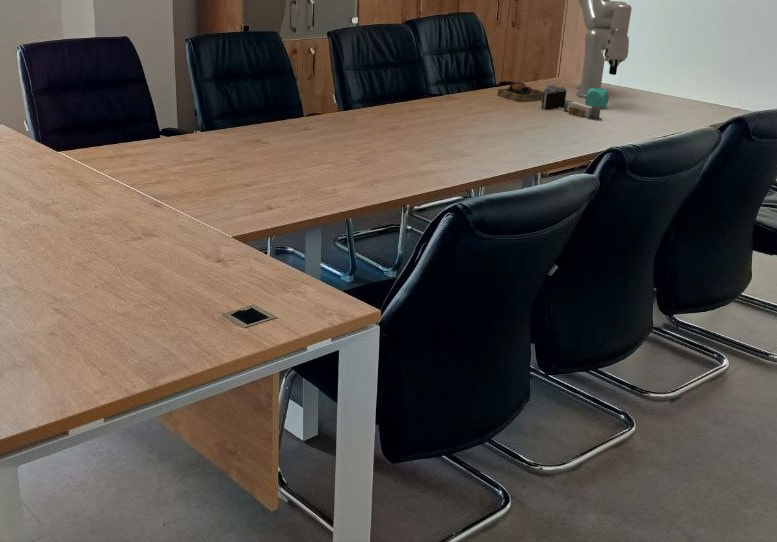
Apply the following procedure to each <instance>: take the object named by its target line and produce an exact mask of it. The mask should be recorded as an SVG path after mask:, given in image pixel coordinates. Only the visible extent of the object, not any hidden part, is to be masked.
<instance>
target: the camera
mask: <svg viewBox="0 0 777 542" xmlns="http://www.w3.org/2000/svg"><path fill="white" fill-rule="evenodd" d="M543 92H544V93H543V96H542V98H541V110H544V109H546V110H547V111H548V109H550V110H555V109H554V108H556V109H560V108H559V107H561V108H564V105H565V101H566V97H567V88H565V87H564V86H557V85H556V84H549V85H547V86H546V87H545V88H544V89H543Z"/></svg>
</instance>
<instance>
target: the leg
mask: <svg viewBox="0 0 777 542" xmlns="http://www.w3.org/2000/svg"><path fill="white" fill-rule="evenodd" d="M569 107H575V108H578V109H582V110H585V114H584V117H586V118H588V117H591V110H592V107H591V106H587V105H586V104H583V103H580V102H576V101H573V100H567V99H565V105H564V107H563V111H564V112H569Z"/></svg>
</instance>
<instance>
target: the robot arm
mask: <svg viewBox="0 0 777 542" xmlns="http://www.w3.org/2000/svg"><path fill="white" fill-rule="evenodd" d="M577 1H578V3H579V6H580V8H581V11H582V16H583V22H584V25H585V29H586V30H587V31H586V33H585V37H584V59H583V66H582V75H581V81H580V84H577V85H576V86H575V89H577V90H578V91H576V96H578V97H580V96H581V98H585V99H586V94H587V92H588V90H589V89H590V88H601V89H602V81H603V75H604V68H605V62H607V63H608V65H609V69H608V74H610V75H613V76H616V75H617V71H618V66H620V64H621V62H625V61H626V59H627V58H628V55H629V47H630V46H629V45H630V44H629V43H630V38H629V36H628V35H629V33H628V32H629V27H630V26H629V25H630V20H631V14H632V8H633V7H632V6H631V5H630V4H628V3H627V2H624V1H615V0H614V1H613V0H577ZM602 51H604V52H603V53H604V55H603V53H602Z"/></svg>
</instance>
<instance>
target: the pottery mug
mask: <svg viewBox="0 0 777 542" xmlns="http://www.w3.org/2000/svg"><path fill="white" fill-rule="evenodd" d="M508 88H509V89H508V91H509V90H510V91H512V92H514V93H516V94H519V95H529V94H530V93H531V88H532V87H530V86H528V85H526V84H525V83H523V82H520V81H519V82H517V81H515V82H512V83H510V84H509V87H508ZM522 88H523V89H522ZM527 90H528V91H527Z"/></svg>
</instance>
